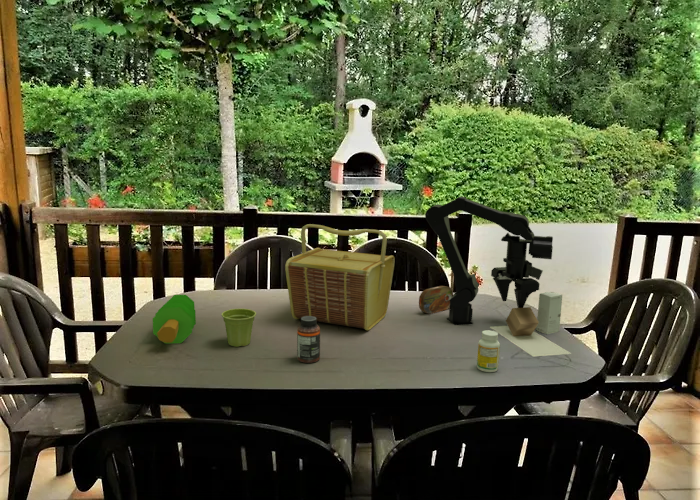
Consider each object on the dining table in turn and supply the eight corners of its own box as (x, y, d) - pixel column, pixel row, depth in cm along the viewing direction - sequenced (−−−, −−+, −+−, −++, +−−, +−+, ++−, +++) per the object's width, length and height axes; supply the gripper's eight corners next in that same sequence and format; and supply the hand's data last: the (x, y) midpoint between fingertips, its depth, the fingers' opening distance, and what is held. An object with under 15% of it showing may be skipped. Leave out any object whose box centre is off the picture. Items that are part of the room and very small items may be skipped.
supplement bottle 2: (492, 374, 139) (495, 338, 137) (472, 368, 142) (475, 332, 140) (501, 368, 143) (504, 332, 141) (482, 362, 146) (485, 327, 144)
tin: (423, 316, 185) (424, 291, 183) (416, 313, 187) (417, 289, 185) (453, 308, 194) (454, 285, 192) (446, 306, 196) (447, 283, 195)
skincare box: (547, 335, 169) (551, 296, 166) (535, 331, 172) (538, 293, 170) (559, 332, 172) (563, 294, 170) (547, 327, 176) (551, 290, 173)
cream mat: (533, 357, 151) (533, 356, 151) (488, 327, 174) (489, 326, 174) (571, 354, 153) (571, 353, 153) (523, 325, 177) (523, 324, 177)
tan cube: (513, 336, 166) (520, 323, 162) (505, 320, 170) (512, 308, 166) (531, 335, 167) (538, 322, 163) (523, 319, 172) (530, 307, 168)
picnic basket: (281, 323, 173) (281, 228, 167) (316, 302, 197) (318, 218, 191) (369, 338, 162) (372, 236, 157) (395, 314, 186) (399, 225, 180)
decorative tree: (155, 308, 144) (174, 276, 173) (139, 346, 146) (161, 308, 175) (197, 323, 147) (208, 289, 176) (181, 361, 149) (195, 321, 178)
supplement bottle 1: (305, 353, 149) (306, 313, 147) (324, 358, 146) (325, 317, 144) (292, 360, 144) (292, 318, 142) (311, 365, 141) (312, 323, 139)
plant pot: (262, 340, 158) (262, 310, 157) (245, 351, 149) (245, 320, 148) (233, 335, 161) (233, 306, 160) (215, 346, 152) (214, 316, 151)
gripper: (557, 262, 162) (552, 313, 165) (523, 249, 180) (519, 295, 183) (523, 263, 160) (519, 315, 163) (492, 250, 177) (488, 297, 180)
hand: (512, 305), depth 172 cm, fingers open, 9 cm apart
